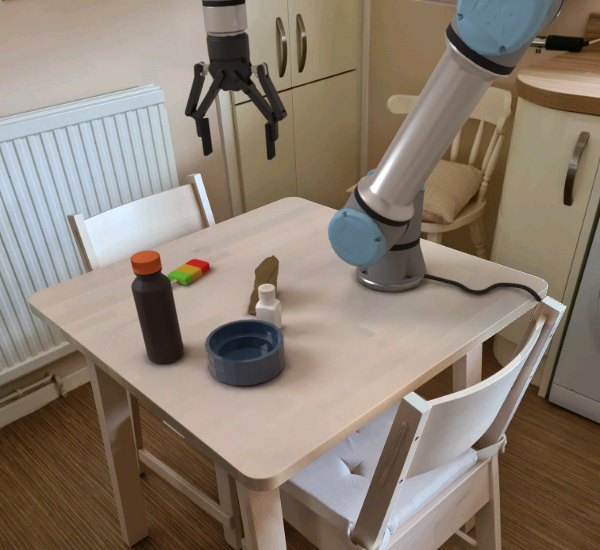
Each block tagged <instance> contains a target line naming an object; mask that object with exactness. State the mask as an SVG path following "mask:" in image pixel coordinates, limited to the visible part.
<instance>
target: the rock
mask: <svg viewBox="0 0 600 550" xmlns="http://www.w3.org/2000/svg"><path fill="white" fill-rule="evenodd" d="M279 269H280V261H279V259H278V258H277V257H276V256H275V255H271V256H268V257H266V258H264V259H263V260H262V261H261V262H260V263H259V265H258V266H257V267H256V268H255V269H254V282H253V290H252V291H251V294H250V299H249V300H250V301H249V305H248V308H247V313H248V314H252V315H256V305H257V303H258V301H259V300H260V299H259V294H258V287H259V286H260V285H263V284H272V285H274V286H275V294H276V295H277V293H278V276H279Z"/></svg>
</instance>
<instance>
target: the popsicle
mask: <svg viewBox="0 0 600 550" xmlns="http://www.w3.org/2000/svg"><path fill="white" fill-rule="evenodd" d="M210 270H211V265H210V263H209V261H205V260H203V259H198V258H192V259H190V260H187V262H184V263H183V264H181V265H180V266H178V267H176V268H175V269H173V270H172V271H170V272H168V273H167V277H168V278H169V279H170V281H171V286H173V285H174V284H176V283H177V284H179V285H182V286H188V285H189V284H191V283H193V282H194V281H196V280H198V279H199V278H201V277H202V276H203V275H205V274H207V273H208V272H209V271H210Z"/></svg>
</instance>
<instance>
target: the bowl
mask: <svg viewBox="0 0 600 550" xmlns="http://www.w3.org/2000/svg"><path fill="white" fill-rule="evenodd" d="M204 347H205V354H206V359H207V366H208V370H209V373H210V374H211V375H212V376H213V378H215V379H217V381H220V382H222V383H225V384H228V385H233V386H253V385H257V384H261V383H264V382H267V381H269V380H271V379H273V378H274V377H276V376H277V375H278V374H279V373H281V372H282V370H283V368H284V367H285V365H286V350H285V349H286V348H285V336H284V333H283V331H282V330H281V329H279V328H278V327H277V326H275V325H274V324H271V323H269V322H266V321H262V320H257V319H253V318H252V319H238V320H233V321H228V322H226V323H223V324H221V325H219V326H217V327H216V328H215V329H213V330H212V331H210V333H209V334H208V336H206V339H205V343H204Z"/></svg>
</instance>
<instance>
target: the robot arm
mask: <svg viewBox="0 0 600 550" xmlns="http://www.w3.org/2000/svg"><path fill="white" fill-rule="evenodd" d="M413 1H414V2H421V3H427V4H434V5H439V6H446V7H454V8H456V11H455V12H454V15H453V17H452V18H451V20H450V22H449V24H448V25H447V27H446V29H445V30H444V40H445V45H446V49H445V51H444V52H443V54H442V56H441V58H440V59H439V61H438V63H437V64H436V66H435V68H434V69H433V71H432V73H431V75H430V76H429V78H428V80H427V81H426V83H425V85H424V86H423V88H422V90H421V91H420V93H419V95H418V97H417V98H416V100H415V102H414V103H413V105H412V107H411V109H410V110H409V112H408V114H407V115H406V117H405V118H404V120H403V122H402V124H401V125H400V127H399V129H398V131H397V132H396V134H395V136H394V137H393V139H392V141H391V143H390V144H389V146H388V148H387V149H386V151H385V153H384V155H382V158H381V160H380V161H379V163H378V165H377V167H376V168H372V169H371V170H368V172H367V174H366V175H365V176H363V177H361V178H360V180H358V182H357V184H356V185H355V188H354V189H353V191H352V192H351V195H350V196H349V198H348V199H347V201H346V203H345V204H344V205H343V207H342V208H341V209H339V210H337V211H336V212H335V213H334V215H332V217H331V219H330V221H329V223H328V227H327V237H328V240H329V242H330V246H331V249H332V250H333V251H334V253H335V255H337V256H338V258H340V259H341V260H342V261H343V262H345V263H346V264H348V265H351V266H353V267H356V268H355V277H356V280H357V281H358V283H360V284H361V285H362V286H364V287H366V288H368V289H370V290H374V291H377V292H385V293H398V292H405V291H409V290H413V289H415V288H417V287H419V286H421V285H422V284H423V283H424V282H425V280H426V279H428V280H431V281H435V282H439V283H443V284H446V285H447V284H448V285H450V286H454V287H457V288H459V289H460V290H462V291H464V292H465V293H468V294H471V295H476V296H477V295H485V294H488V293H489V292H491V291H494V290H495V289H498V288H514V289H519V290H522V291H524V292H527V293H529V294H530V295H531V296H532V297H533V298H534V299H535V301H536V302H538V303H541V302H540V301H541V300H542V301H543V299H542V297H541V296H540V295H539V294H538V293H537V291H535V290H534V289H533V288H531V287H530V286H527V285H526V284H522V283H517V282H496V283H493V284H491V285H490V286H487V287H486V288H483V289H472V288H469V287H468V286H466V285H464V284H463V283H461V282H458V281H456V280H453V279H448V278H444V277H440V276H436V275H433V274H428V273H427V266H426V262H425V259H424V254H423V251H422V246H421V234H422V223H423V212H424V211H423V210H424V199H425V192H426V188H425V184H426V182H427V181H428V179H429V178H430V177H431V175H432V173H433V171H434V170H435V169H436V168H437V166H438V164H439V163H440V161H441V160H442V158H443V157H444V155H445V154H446V152H447V151H448V149H449V148H450V146H451V145H452V143H453V142H454V141H455V139H456V137H457V136H458V134H459V133H460V132H461V130H462V129H463V127H464V125H465V124H466V122H468V120H469V118H470V116H471V115H472V114H473V112H474V111H475V110H476V108H477V106H478V105H479V104H480V102H481V101H482V99H483V97H484V96H485V95H486V92H487V91H488V90H489V88H490V87H491V85H493V83H494V81H496V80H500V79H505V78H508V77H509V76H510V75H511V74H512V72H513V71H514V70H515V68H516V67H517V65H518V64H519V62H520V61H521V59H522V58H523V57H524V55H525V54H526V52H527V51H528V49H529V48H530V46H531V45H532V44H533V42H534V41H535V39H536V38H537V36H539V34H540V33H541V32H542V31H544V30H545V29H546V28H548V27H549V26H550V25H551V24H552V23H553V22H554V20H555V19H557V17H558V15H559V14H560V12H561V11H562V9H563V7H564V5H565V2H566V0H412V2H413ZM246 2H247V1H246V0H201V3H202V14H203V22H204V31H205V32H206V33H208V35H207V36H206V38H205V40H206V48H207V56H208V60H209V62H208V63H206V62H205V61H199V62H196V63H194V65H193V81H192V84H191V87H190V91H189V94H188V99H187V102H186V106H185V109H184V116H186V117H187V118H189V117H190V118H192V119H193V120H194V122H195V129H196V135H197V137H198V138H201V145H202V146H201V147H202V153H203V157H208V156H210V155H211V154H212V153H214V149H213V141H212V134H211V133H212V132H211V126H210V118H209V117H206V115H207V113H208V111H209V110H210V108H211V106H212V104H213V102H214V101H215V99H216V97H217V96H218V94H219V92H220V91H221V90H222V91H223V92H229V91H232V92H240V91H241V92H243V94H244V95H246V96H247V97H248V99H250V101H251V102H252V103H253V105H254V106H255V107H256V108H257V109H258V111H259V112H260V113H261V114H262V116H263V117H264V119H265V120H266V121H267V122H266V123H264V133H265V134H264V135H265V147H266V160H267V161H272V160H273V159H274V158H275V157H276V156H277V155H276V142H277V141H278V140H279V137H280V133H279V122H281V121H283V120H284V119H285V118H287V117H288V112H287V109H286V108H285V106H284V103H283V101H282V99H281V97H280V95H279V93H278V91H277V89H276V86H275V85H274V83H273V80H272V79H271V77H270V72H269V66H268V63H266V62H264V61H263V62H262V63H260V64H252V62H251V49H250V38H249V34H248V33H247V32H246V30H247V29H248V16H247V6H246V5H247V4H246ZM208 74H209V76H211V78H212V79H213V81H212V82H211V84H210V86H209V88H208V90H207V92H206V93H205V96H204V97H203V99H202V101H200V98H201V94H202V91H203V87H204V84H205V81H206V77H207V76H208ZM253 74H254V76H255V78H257V79H258V81H259V84H260V86H261V88H262V90H263V91H262V92H263V93H264V95H265V97H264V95H263V94H262V93H261V91H260V90H259V89H258V88H257V85H256V83H255V82H254V80H252V78H251V77H252V75H253ZM199 101H200V104H199ZM198 105H199V106H198Z"/></svg>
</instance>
